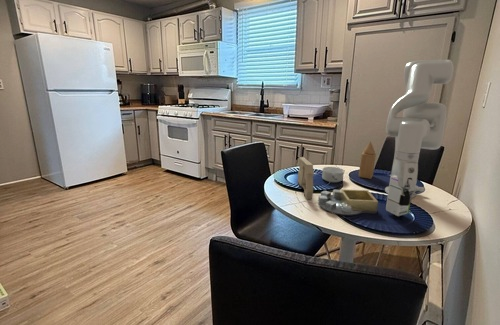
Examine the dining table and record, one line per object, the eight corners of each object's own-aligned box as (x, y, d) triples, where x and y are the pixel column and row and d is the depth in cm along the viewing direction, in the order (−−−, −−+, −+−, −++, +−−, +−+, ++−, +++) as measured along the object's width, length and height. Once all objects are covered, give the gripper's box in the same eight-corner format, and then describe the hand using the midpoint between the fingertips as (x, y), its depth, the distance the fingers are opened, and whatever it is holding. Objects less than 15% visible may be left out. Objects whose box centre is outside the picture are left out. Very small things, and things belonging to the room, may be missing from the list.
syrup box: (398, 216, 99) (404, 180, 94) (384, 209, 104) (390, 175, 99) (408, 213, 101) (415, 178, 96) (395, 207, 106) (401, 172, 102)
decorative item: (372, 175, 148) (378, 140, 142) (371, 179, 142) (376, 142, 137) (360, 173, 151) (364, 139, 146) (358, 177, 146) (362, 141, 140)
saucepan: (322, 188, 129) (323, 177, 128) (320, 175, 148) (321, 165, 146) (347, 190, 127) (348, 179, 125) (342, 177, 146) (343, 167, 144)
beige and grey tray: (364, 198, 118) (365, 187, 116) (379, 217, 101) (381, 205, 99) (315, 196, 119) (316, 185, 118) (322, 214, 102) (323, 202, 101)
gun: (313, 200, 115) (315, 166, 112) (305, 200, 115) (307, 166, 112) (303, 185, 139) (304, 156, 136) (297, 185, 139) (298, 156, 136)
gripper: (431, 163, 87) (420, 211, 92) (406, 149, 104) (398, 191, 109) (407, 162, 88) (398, 210, 93) (386, 149, 104) (379, 190, 110)
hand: (398, 200), depth 101 cm, fingers closed on syrup box, 7 cm apart
